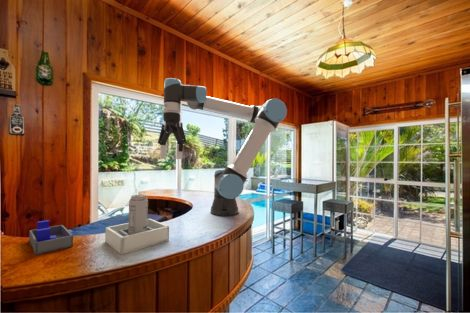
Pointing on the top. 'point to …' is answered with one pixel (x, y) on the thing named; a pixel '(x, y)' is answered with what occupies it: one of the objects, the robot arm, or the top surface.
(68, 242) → the clip tray
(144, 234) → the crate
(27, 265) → the top surface
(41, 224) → the cable clip
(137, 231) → the energy drink can
